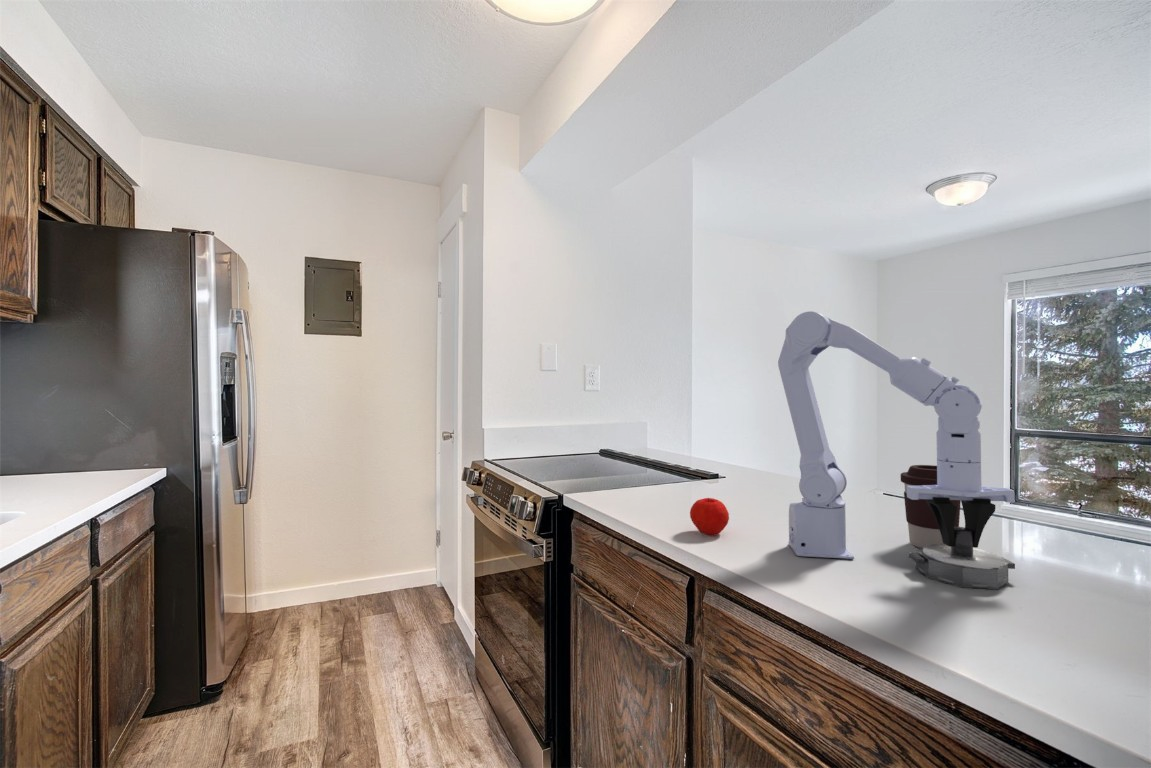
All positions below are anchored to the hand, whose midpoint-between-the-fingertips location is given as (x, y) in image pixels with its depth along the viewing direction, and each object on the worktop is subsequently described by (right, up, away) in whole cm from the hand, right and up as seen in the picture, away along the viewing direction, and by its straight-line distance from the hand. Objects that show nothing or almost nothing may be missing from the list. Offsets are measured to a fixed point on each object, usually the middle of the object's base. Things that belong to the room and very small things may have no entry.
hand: (959, 545), depth 82 cm
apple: (-34, -6, +25) cm, 42 cm away
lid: (0, -3, -1) cm, 3 cm away
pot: (0, -5, 0) cm, 5 cm away
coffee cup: (+6, -5, +15) cm, 17 cm away
